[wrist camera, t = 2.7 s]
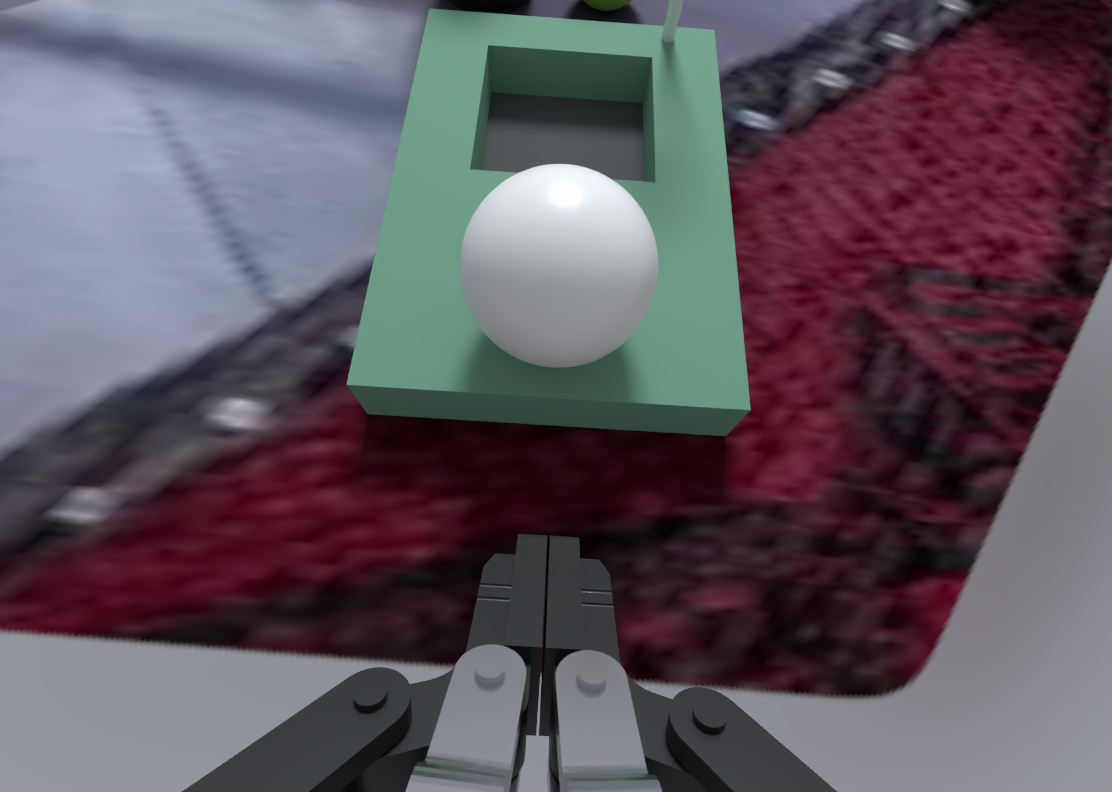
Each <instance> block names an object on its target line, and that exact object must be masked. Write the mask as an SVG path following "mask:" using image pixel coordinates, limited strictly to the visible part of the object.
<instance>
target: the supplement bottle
mask: <svg viewBox="0 0 1112 792" xmlns="http://www.w3.org/2000/svg"><path fill="white" fill-rule="evenodd" d="M451 1H452V2H453V3H455V4H456V5H457V6H459V7H461V8H463V9H465V10H468V11H471V12H482V13H495V14H498V13H503V12H507V11H510V10H512V9H515V8H516V7H518V6H520V5H521V4H522V3H523V2H524V1H525V0H451Z"/></svg>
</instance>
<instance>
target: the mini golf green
mask: <svg viewBox="0 0 1112 792" xmlns="http://www.w3.org/2000/svg"><path fill="white" fill-rule="evenodd" d="M683 1H684V0H670V1H669V5H668V10H667V14H666V19H665V24H664V26H655V25H642V24H629V23H615V22H602V21H589V20H575V19H562V18H549V17H535V16H522V15H509V14H495V13H482V12H469V11H455V10H442V9H429V12H428V16H427V21H426V25H425V30H424V34H423V39H422V43H421V48H420V53H419V57H418V62H417V66H416V71H415V75H414V80H413V84H412V89H411V94H410V98H409V103H408V107H407V112H406V116H405V121H404V125H403V130H402V135H401V139H400V144H399V148H398V153H397V157H396V162H395V166H394V171H393V176H392V180H391V185H390V189H389V194H388V198H387V203H386V207H385V212H384V217H383V221H382V226H381V230H380V235H379V239H378V244H377V248H376V253H375V258H374V262H373V267H372V271H371V276H370V280H369V285H368V289H367V294H366V299H365V303H364V308H363V312H362V317H361V321H360V326H359V330H358V335H357V340H356V344H355V349H354V353H353V358H352V362H351V367H350V371H349V376H348V381H347V386H348V387H349V389H350V390H351V392H352V393H353V394H354V396H355V397H356V399H357V400H358V401H359V403H360V404H361V406H362V407H363V408H364V410H365V411H366V413H367V414H374V415H390V416H407V417H423V418H439V419H455V420H471V421H487V422H504V423H520V424H536V425H552V426H568V427H584V428H601V429H617V430H633V431H649V432H665V433H681V434H698V435H714V436H726V435H727V434H728V433H729V432H730V431H731V430H732V429H733V428H734V427H735V426H736V425H737V424H738V423H739V422H740V421H741V420H742V419H743V418H744V417H745V415H746V414H747V413H748V412H749V411H750V410H751V409H750V399H749V388H748V378H747V367H746V357H745V346H744V336H743V325H742V315H741V304H740V294H739V283H738V273H737V262H736V252H735V241H734V231H733V220H732V210H731V199H730V189H729V178H728V168H727V157H726V147H725V136H724V126H723V115H722V105H721V94H720V84H719V73H718V63H717V52H716V42H715V31H714V30H709V29H695V28H682V27H677V26H678V22H679V17H680V13H681V9H682V5H683ZM548 164H570V165H577V166H582V167H585V168H589V169H592V170H594V171H597V172H599V173H601V174H603V175H605V176H607V177H608V178H610V179H612V180H613V181H615V182H616V183H618V184H619V185H620V186H622V187H623V188H624V189H625V190H626V191H627V192H628V193H629V194H630V195H631V196H632V197H633V198H634V199H635V201H636V202H637V203H638V205H639V206H640V207H641V209H642V210H643V212H644V214H645V215H646V217H647V219H648V221H649V223H650V226H651V228H652V231H653V234H654V237H655V242H656V246H657V251H658V264H659V265H658V280H657V286H656V290H655V294H654V298H653V301H652V303H651V306H650V308H649V310H648V312H647V314H646V316H645V318H644V320H643V321H642V323H641V324H640V326H639V327H638V328H637V330H636V331H635V332H634V333H633V334H632V335H631V337H630V338H629V339H628V340H627V341H626V342H625V343H623V344H622V345H621V346H620V347H619V348H617V349H616V350H614V351H613V352H611V353H610V354H608V355H606V356H605V357H603V358H601V359H598V360H596V361H594V362H591V363H588V364H585V365H580V366H575V367H564V368H553V367H544V366H538V365H534V364H531V363H527V362H525V361H522V360H520V359H517V358H515V357H513V356H512V355H510V354H508V353H506V352H505V351H504V350H502V349H501V348H500V347H498V346H497V345H496V344H495V343H494V342H492V341H491V340H490V339H489V338H488V337H487V336H486V335H485V334H484V332H483V331H482V330H481V328H480V327H479V326H478V324H477V323H476V321H475V319H474V318H473V316H472V314H471V312H470V310H469V308H468V305H467V303H466V300H465V297H464V294H463V290H462V285H461V279H460V255H461V247H462V242H463V238H464V235H465V232H466V229H467V227H468V224H469V222H470V220H471V218H472V216H473V214H474V213H475V211H476V210H477V208H478V207H479V205H480V204H481V202H482V201H483V200H484V199H485V198H486V196H487V195H488V194H489V193H490V192H491V191H493V190H494V189H495V188H496V187H497V186H498V185H499V184H501V183H502V182H503V181H505V180H506V179H508V178H509V177H511V176H513V175H515V174H517V173H520V172H522V171H525V170H527V169H530V168H533V167H537V166H541V165H548Z"/></svg>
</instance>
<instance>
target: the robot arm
mask: <svg viewBox="0 0 1112 792" xmlns="http://www.w3.org/2000/svg"><path fill="white" fill-rule="evenodd" d="M546 553H547V535H531V534H518V539H517V547H516V554H515V555H512V554H494V555H493V556H492V558H491V559H490V560H489V561H488V562H487V563H486V565H485V566H484V567H483V572H482V577H481V582H480V587H479V591H478V597H477V601H476V606H475V611H474V616H473V620H472V625H471V630H470V635H469V640H468V645H467V649H466V652H465V654H464V655H463V656H462V657H461V658H460V659H459V660H458V662H457V663H456V666H455V668H453V669H452V670H451V671H449V672H448V673H446V674H444V675H442V676H440V677H438V678H435V679H432V680H428V681H423V682H419V683H414V684H410V685H409V683H408V681H407V679H406V678H405V677H404V676H403V675H402V674H401V673H399V672H398V671H395V670H393V669H389V668H382V667H380V668H370V669H366V670H363V671H360V672H358V673H356V674H354V675H352V676H350V677H349V678H347V679H346V680H344V681H343V682H342V683H340V684H339V685H337V686H336V687H334V688H333V689H331V690H330V691H328V692H327V693H325V694H324V695H323V696H321V697H320V698H318V699H317V700H315V701H314V702H312V703H311V704H309V705H308V706H306V707H305V708H304V709H302V710H301V711H299V712H298V713H296V714H295V715H293V716H292V717H290V718H289V719H288V720H286V721H285V722H283V723H282V724H280V725H279V726H277V727H276V728H274V729H273V730H271V731H270V732H269V733H267V734H266V735H264V736H263V737H261V738H260V739H258V740H257V741H255V742H254V743H252V744H251V745H250V746H248V747H247V748H245V749H244V750H242V751H241V752H239V753H238V754H236V755H235V756H234V757H232V758H231V759H229V760H228V761H226V762H225V763H223V764H222V765H221V766H219V767H217V768H216V769H215V770H213V771H212V772H210V773H209V774H207V775H206V776H204V777H203V778H201V779H200V780H199V781H197V782H196V783H194V784H193V785H191V786H190V787H188V788H187V789H186V790H184V791H182V792H518V788H519V782H520V771H521V768H522V766H523V763H524V758H525V748H526V735H536V726H537V712H538V697H539V683H540V669H541V655H542V637H543V616H544V595H545V574H546ZM539 736H549V760H548V773H547V783H548V792H837V791H836V790H834V789H833V788H832V787H831V786H830V785H829V784H827V783H826V782H825V781H824V780H823V779H822V778H821V777H819V776H818V775H817V774H816V773H815V772H814V771H812V770H811V769H810V768H809V767H808V766H807V765H806V764H804V763H803V762H802V761H801V760H800V759H799V758H797V757H796V756H795V755H794V754H793V753H791V752H790V751H789V750H788V749H787V748H786V747H785V746H783V745H782V744H781V743H780V742H779V741H778V740H776V739H775V738H774V737H773V736H772V735H771V734H769V733H768V732H767V731H766V730H765V729H764V728H763V727H762V726H760V725H759V724H758V723H757V722H756V721H755V720H753V719H752V718H751V717H750V716H749V715H748V714H746V713H745V712H744V711H743V710H742V709H741V708H740V707H738V706H737V705H736V704H735V703H734V702H733V701H731V700H730V699H729V698H727V697H726V696H724V695H723V694H721V693H719V692H716V691H714V690H711V689H708V688H701V687H694V688H688V689H685V690H683V691H681V692H679V693H678V694H677V695H676V696H675V697H674V699H673V700H672V699H669V698H666V697H664V696H661V695H658V694H655V693H652V692H650V691H648V690H645V689H644V688H642V687H640V686H639V685H638V684H636V683H635V682H634V681H633V680H632V679H631V678H630V677H629V676H628V675H627V674H626V672H625V671H624V669H623V667H622V665H621V662H620V658H619V651H618V642H617V633H616V624H615V616H614V607H613V598H612V589H611V581H610V574H609V573H608V571H607V570H606V568H605V567H604V565H603V564H602V563H601V561H600V560H596V559H580V547H579V537H565V536H550V539H549V553H548V568H547V582H546V597H545V616H544V638H543V661H542V684H541V705H540V728H539Z"/></svg>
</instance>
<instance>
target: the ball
mask: <svg viewBox="0 0 1112 792" xmlns="http://www.w3.org/2000/svg"><path fill="white" fill-rule="evenodd" d="M658 265H659V264H658V251H657V246H656V242H655V237H654V234H653V231H652V228H651V226H650V223H649V221H648V219H647V217H646V215H645V214H644V212H643V210H642V209H641V207H640V206H639V205H638V203H637V202H636V201H635V199H634V198H633V197H632V196H631V195H630V194H629V193H628V192H627V191H626V190H625V189H624V188H623V187H622V186H620V185H619V184H618V183H616V182H615V181H613V180H612V179H610V178H608V177H607V176H605V175H603V174H601V173H599V172H597V171H594V170H592V169H589V168H585V167H582V166H577V165H570V164H548V165H541V166H537V167H533V168H530V169H527V170H525V171H522V172H520V173H517V174H515V175H513V176H511V177H509V178H508V179H506V180H505V181H503V182H502V183H501V184H499V185H498V186H497V187H496V188H495V189H494V190H493V191H491V192H490V193H489V194H488V195H487V196H486V198H485V199H484V200H483V201H482V202H481V204H480V205H479V207H478V208H477V210H476V211H475V213H474V214H473V216H472V218H471V220H470V222H469V224H468V227H467V229H466V232H465V235H464V238H463V242H462V247H461V255H460V279H461V285H462V290H463V294H464V297H465V300H466V303H467V305H468V308H469V310H470V312H471V314H472V316H473V318H474V319H475V321H476V323H477V324H478V326H479V327H480V328H481V330H482V331H483V332H484V334H485V335H486V336H487V337H488V338H489V339H490V340H491V341H492V342H494V343H495V344H496V345H497V346H498V347H500V348H501V349H502V350H504V351H505V352H506V353H508V354H510V355H512V356H513V357H515V358H517V359H520V360H522V361H525V362H527V363H531V364H534V365H538V366H544V367H553V368H564V367H575V366H580V365H585V364H588V363H591V362H594V361H596V360H598V359H601V358H603V357H605V356H606V355H608V354H610V353H611V352H613V351H614V350H616V349H617V348H619V347H620V346H621V345H622V344H623V343H625V342H626V341H627V340H628V339H629V338H630V337H631V335H632V334H633V333H634V332H635V331H636V330H637V328H638V327H639V326H640V324H641V323H642V321H643V320H644V318H645V316H646V314H647V312H648V310H649V308H650V306H651V303H652V301H653V298H654V294H655V290H656V286H657V280H658Z"/></svg>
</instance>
